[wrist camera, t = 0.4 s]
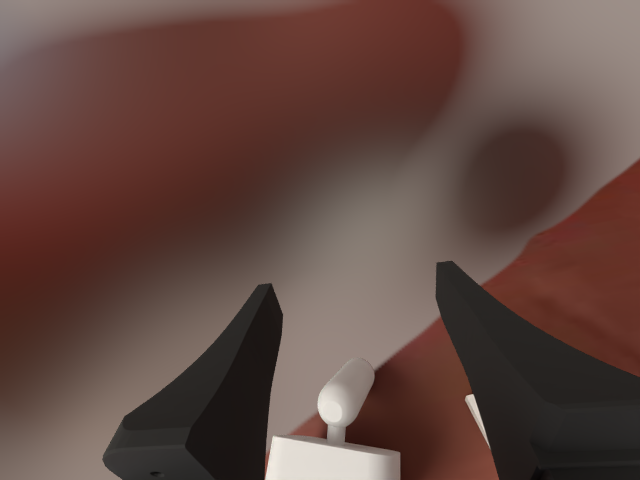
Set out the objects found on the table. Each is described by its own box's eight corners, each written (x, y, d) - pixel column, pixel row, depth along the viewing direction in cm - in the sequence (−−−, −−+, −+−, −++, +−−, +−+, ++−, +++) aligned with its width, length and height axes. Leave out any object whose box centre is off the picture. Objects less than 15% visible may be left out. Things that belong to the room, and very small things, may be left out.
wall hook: (402, 363, 29) (392, 335, 21) (403, 503, 24) (390, 537, 16) (322, 357, 32) (285, 329, 24) (307, 482, 26) (253, 501, 18)
